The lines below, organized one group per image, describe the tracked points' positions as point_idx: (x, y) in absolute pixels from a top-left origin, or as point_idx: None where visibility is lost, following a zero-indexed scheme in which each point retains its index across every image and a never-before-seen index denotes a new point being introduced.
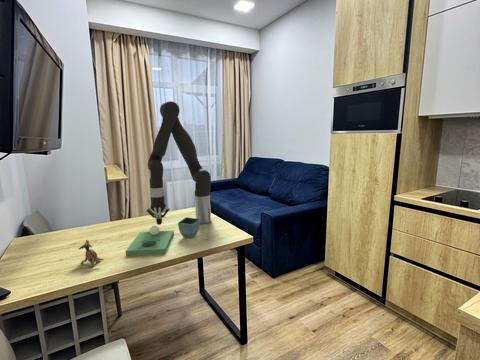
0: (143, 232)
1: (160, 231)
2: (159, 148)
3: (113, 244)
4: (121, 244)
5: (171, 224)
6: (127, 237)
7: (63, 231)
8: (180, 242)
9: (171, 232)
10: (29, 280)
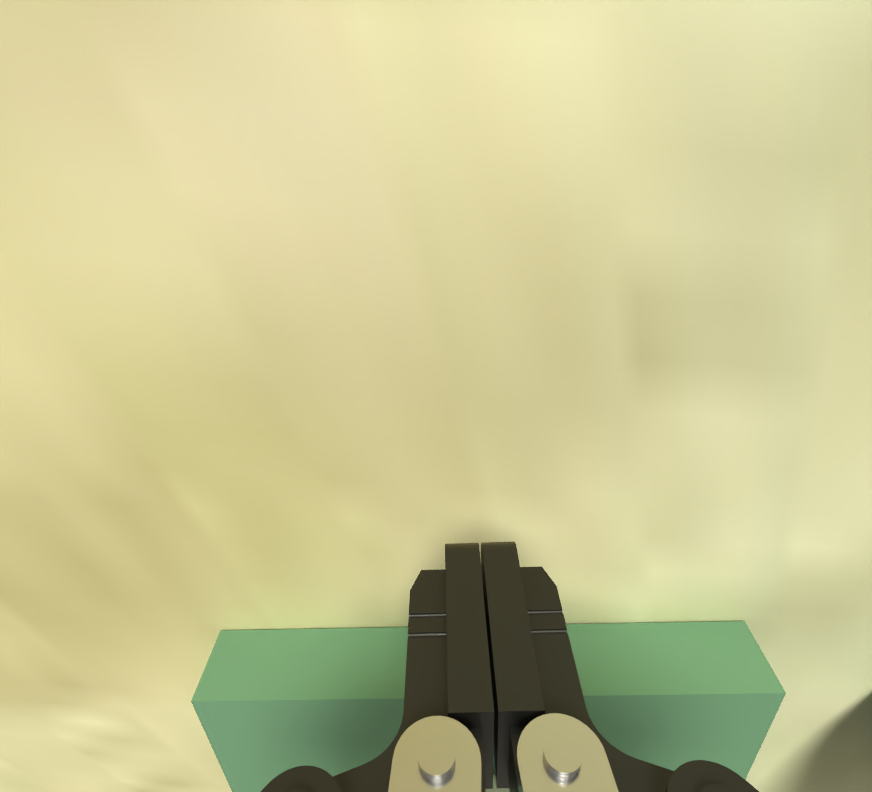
0: (260, 716)
1: None
2: None
3: (24, 765)
4: (120, 770)
5: (715, 68)
6: (40, 645)
7: None
8: (805, 775)
9: (739, 741)
10: None
